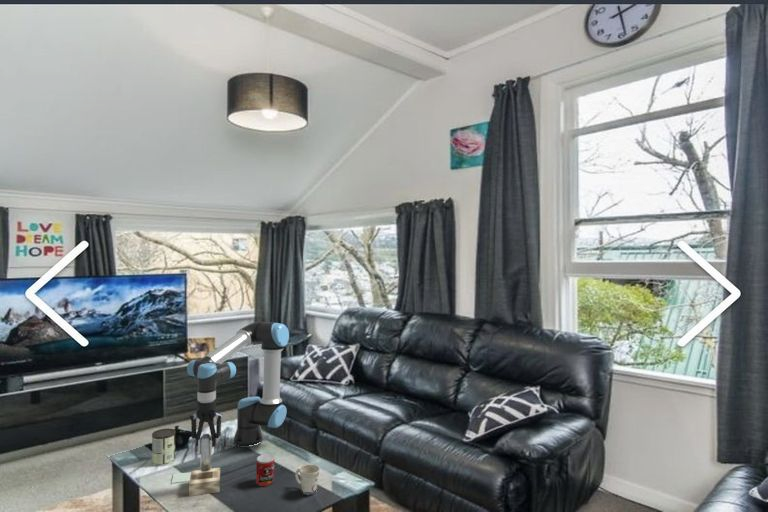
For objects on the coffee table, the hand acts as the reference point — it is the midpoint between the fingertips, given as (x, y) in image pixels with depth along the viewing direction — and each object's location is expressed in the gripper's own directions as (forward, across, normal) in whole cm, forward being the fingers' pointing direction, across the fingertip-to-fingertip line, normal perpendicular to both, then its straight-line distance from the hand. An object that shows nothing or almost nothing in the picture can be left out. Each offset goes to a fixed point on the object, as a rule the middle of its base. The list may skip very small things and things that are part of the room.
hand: (206, 453), depth 202 cm
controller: (+15, +27, -40) cm, 51 cm away
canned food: (+15, -25, -5) cm, 29 cm away
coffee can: (+15, +29, -23) cm, 40 cm away
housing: (+14, 0, 0) cm, 14 cm away
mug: (+15, -44, +2) cm, 46 cm away
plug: (+7, 0, 0) cm, 7 cm away
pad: (+14, +13, -7) cm, 21 cm away
